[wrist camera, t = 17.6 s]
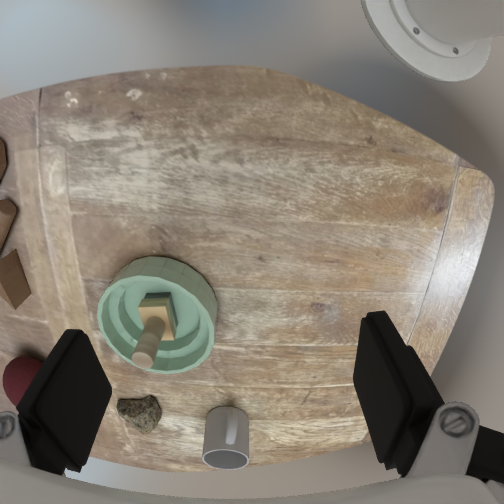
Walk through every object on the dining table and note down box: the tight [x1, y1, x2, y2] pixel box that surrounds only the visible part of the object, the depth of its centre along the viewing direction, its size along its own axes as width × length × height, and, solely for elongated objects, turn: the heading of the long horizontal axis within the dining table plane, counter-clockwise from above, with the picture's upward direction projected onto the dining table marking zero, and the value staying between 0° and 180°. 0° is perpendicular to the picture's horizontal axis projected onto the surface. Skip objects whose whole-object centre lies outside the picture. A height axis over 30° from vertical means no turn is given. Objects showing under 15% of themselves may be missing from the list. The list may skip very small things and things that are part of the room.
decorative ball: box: [3, 356, 43, 407], centre depth 41 cm, size 10×10×10 cm
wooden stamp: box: [132, 292, 178, 369], centre depth 35 cm, size 5×4×10 cm
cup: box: [202, 406, 249, 470], centre depth 45 cm, size 7×10×9 cm
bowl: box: [97, 256, 218, 374], centre depth 38 cm, size 14×14×6 cm
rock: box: [117, 396, 162, 434], centre depth 47 cm, size 7×8×4 cm
